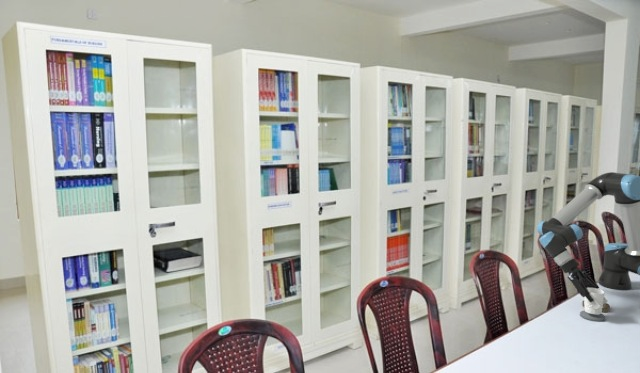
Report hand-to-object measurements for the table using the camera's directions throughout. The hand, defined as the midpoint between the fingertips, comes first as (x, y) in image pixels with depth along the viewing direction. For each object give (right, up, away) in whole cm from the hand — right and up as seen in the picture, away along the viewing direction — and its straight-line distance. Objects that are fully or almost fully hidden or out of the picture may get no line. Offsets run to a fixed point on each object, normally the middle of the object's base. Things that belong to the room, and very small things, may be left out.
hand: (601, 305), depth 209 cm
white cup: (-2, -4, +3) cm, 6 cm away
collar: (+6, -5, +14) cm, 16 cm away
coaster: (-2, -6, +3) cm, 7 cm away
